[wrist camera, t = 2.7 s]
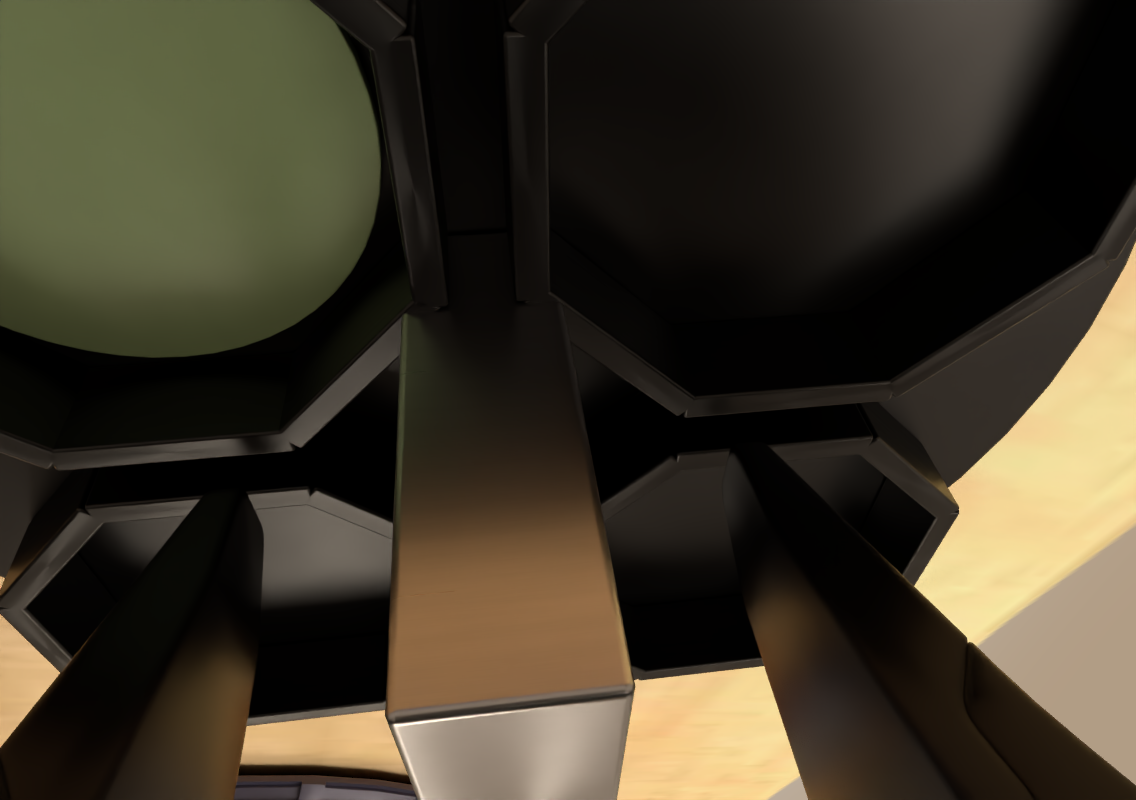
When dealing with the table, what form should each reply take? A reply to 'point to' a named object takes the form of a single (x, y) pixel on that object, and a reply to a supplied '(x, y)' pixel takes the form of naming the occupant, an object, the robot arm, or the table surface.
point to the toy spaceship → (319, 788)
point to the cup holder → (526, 320)
